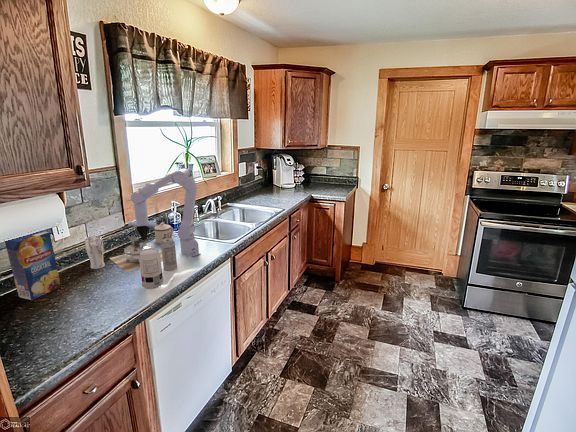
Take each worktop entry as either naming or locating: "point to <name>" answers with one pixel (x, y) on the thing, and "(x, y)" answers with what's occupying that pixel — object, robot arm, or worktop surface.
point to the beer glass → (95, 251)
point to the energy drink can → (169, 254)
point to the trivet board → (124, 264)
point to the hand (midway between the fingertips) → (144, 239)
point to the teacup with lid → (163, 232)
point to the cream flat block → (132, 259)
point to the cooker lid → (137, 247)
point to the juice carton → (33, 264)
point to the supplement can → (150, 268)
